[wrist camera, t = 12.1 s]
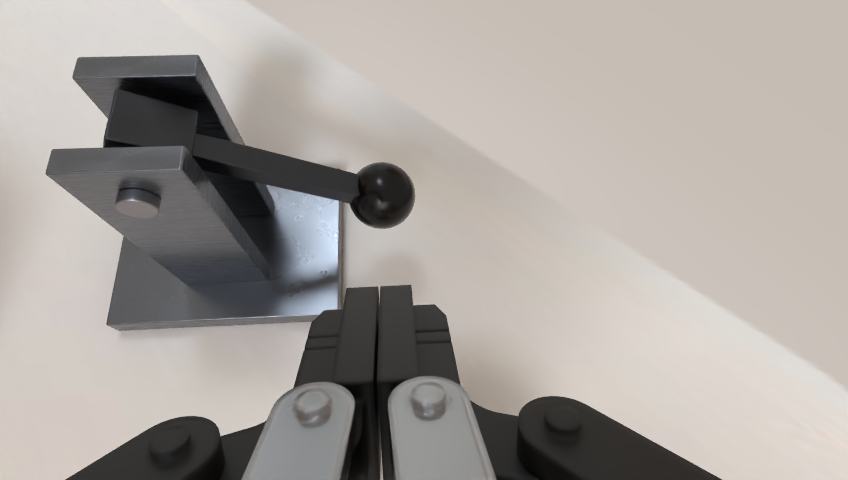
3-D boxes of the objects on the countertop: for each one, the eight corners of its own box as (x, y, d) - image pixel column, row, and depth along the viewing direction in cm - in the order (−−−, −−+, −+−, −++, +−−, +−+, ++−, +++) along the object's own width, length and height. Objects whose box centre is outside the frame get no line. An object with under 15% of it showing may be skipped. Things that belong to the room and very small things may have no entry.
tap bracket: (342, 178, 31) (304, 12, 20) (341, 320, 28) (293, 219, 16) (145, 185, 31) (-16, 17, 19) (118, 330, 27) (-100, 234, 16)
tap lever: (393, 188, 27) (425, 159, 25) (395, 243, 26) (429, 218, 23) (113, 118, 20) (118, 68, 18) (97, 187, 19) (101, 144, 17)
